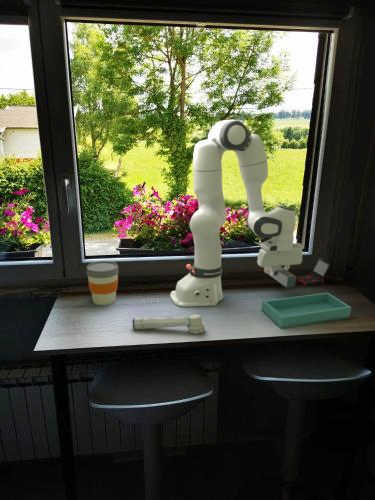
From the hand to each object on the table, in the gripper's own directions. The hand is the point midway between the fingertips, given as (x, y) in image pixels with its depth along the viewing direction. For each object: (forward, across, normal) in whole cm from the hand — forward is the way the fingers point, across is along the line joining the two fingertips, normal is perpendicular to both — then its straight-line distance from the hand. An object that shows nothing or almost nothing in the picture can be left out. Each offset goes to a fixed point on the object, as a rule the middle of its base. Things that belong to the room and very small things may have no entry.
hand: (278, 274), depth 159 cm
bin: (+8, 0, +22) cm, 23 cm away
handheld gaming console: (+8, -23, -7) cm, 26 cm away
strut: (+2, 0, +1) cm, 2 cm away
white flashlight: (+9, +54, +18) cm, 58 cm away
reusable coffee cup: (+10, +74, -12) cm, 75 cm away
